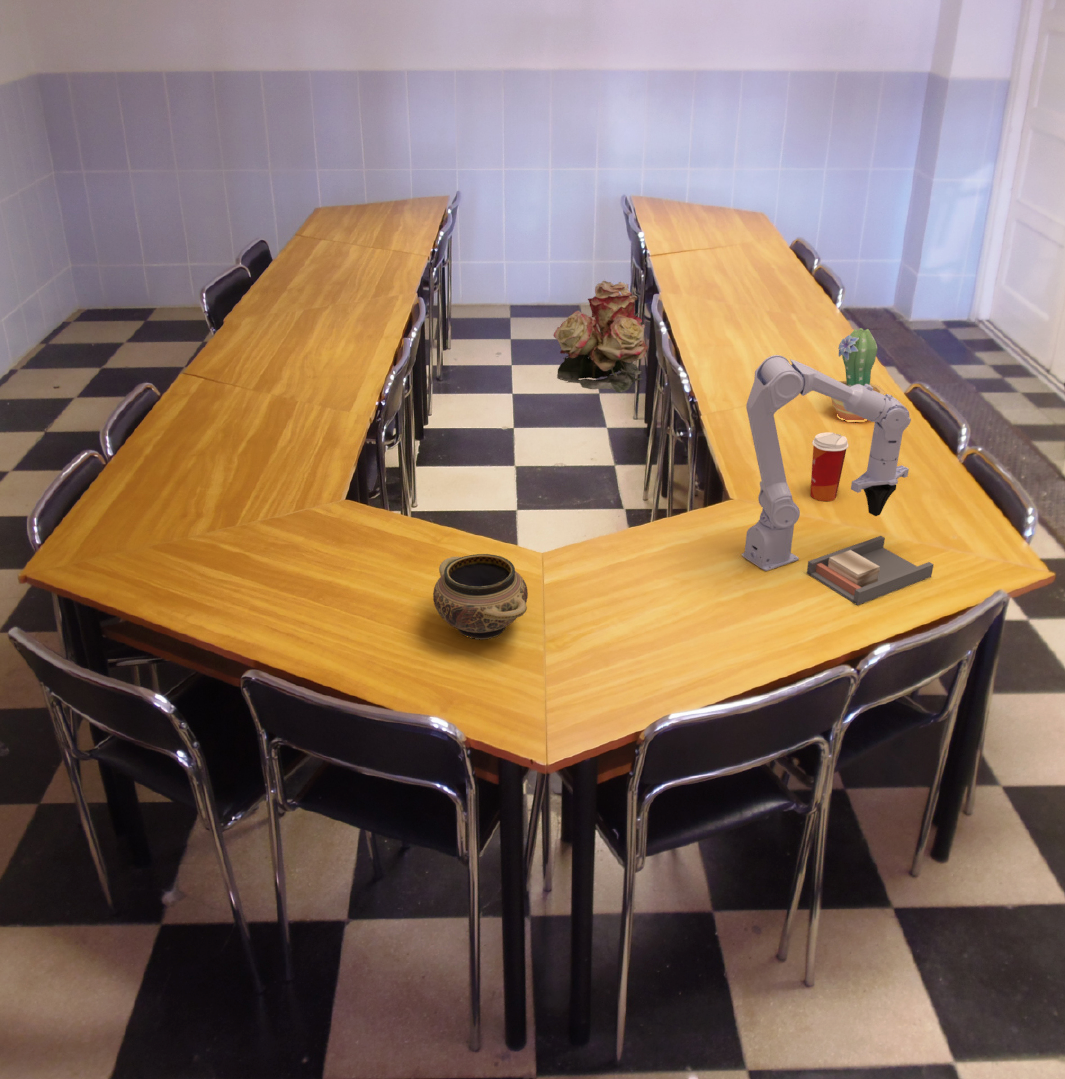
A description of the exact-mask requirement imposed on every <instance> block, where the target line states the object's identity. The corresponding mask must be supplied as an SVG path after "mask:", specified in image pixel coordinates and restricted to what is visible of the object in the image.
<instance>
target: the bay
mask: <svg viewBox="0 0 1065 1079" xmlns="http://www.w3.org/2000/svg"><path fill="white" fill-rule="evenodd" d="M885 539H886V538H885V537H884V536H883V535H879V536H876V537H873V538H869V539H868V540H864V541H861V542H858V543H856V544H853V545H851V546H848V547H844V548H841V549H839V550H836V551H833V552H829V553H828V554H824V555H822V556H819V557H816V558H813V559H811V560H808V562H807V568H806V574H807V575H809V576H810V577H812V578H814V579H815V580H816V581H818V582H820V583H821V584H823V585H824V586H826V588H827V587H828V588H829V589H830V590H832V591H833V592H836V593H837V594H839V595H840V596H842V597H843V598H845V599H846V600H848V601H850V602H852V603H853V604H854V605H856V606H859V605H863V604H865V603H867V602H870V601H872V600H874V599H877V598H880V597H883V596H886V595H889V594H890V593H893V592H896V591H898V590H901V589H904V588H906V587H909V586H911V585H914V584H916V583H919V582H922V581H925V580H927V579H929V578H931V577H932V574H933V569H934V563H932V562H930V561H928V562H925V563H922V564H920V565H915V564H914V563H912V562H910V561H909V560H906V559H904V558H903V557H902V556H899V555H898V554H896V553H895V552H893V551H890V550H889V549H887V548H885V546H884V545H885ZM849 550H852V551H853V552H855V553H857V554H859V555H860V556H862V557H864V558H866V559H867V560H869V561H871V562H873V563H874V564H876V565H878V566H880V568H879V569H880V571H879V574H878V581H877V582H875V583H872V584H869V585H867V586H864V587H860V586H858V585H857V584H855V583H853V582H852V581H850V580H848V579H847V578H845V577H843V576H842V575H840V574H838V573H837V572H835V571H833V570H832V569H830V568H829V567H828V564H829V563H828V562H829V557H832V556H835V555H838V554H841V553H844V552H846V551H849Z"/></svg>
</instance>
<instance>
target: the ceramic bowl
mask: <svg viewBox="0 0 1065 1079" xmlns="http://www.w3.org/2000/svg"><path fill="white" fill-rule="evenodd" d="M438 568H439V570H438V571H439V572H438V573H439V576H440V577H439V578H438V579H437V581H436V583H435V584H434V588H433V591H432V592H433V593H432V597H433V599H432V600H433V604H434V607H435V609H436V611H437V613H438V614H439V616H440V617H441V618H442V619H443V621H444V622H446V623H447V624H449V625H450V626H452V627H454V628H456V629H457V630H458V632H459V633H460V634H461V635H462V634H463V635H465V636H468V637H471V638H470V639H472V638H475V639H474V640H479V639H480V640H488V638H490V639H493V638H492V637H494V638H496V637H498V636H500V635H501V634H502V633H503V632H504V631H506V627H507V626H509V625H511V624H512V623H513V622H514V621H516V619H518V618H520V617H522V616H524V614H525V613H526V612H527V610H528V606H527V601H528V598H529V594H528V593H529V592H528V587H527V583H526V582H525V580H524V578H523V577H522V576H521V574H520V573H518V572H517V571H516V569H515V565H514V564H513V562H512V561H511V560H509V559H507V558H505V557H503V556H501V555H496V554H489V553H477V554H471V555H465V556H462V557H461V556H451V557H447V558H446V559H444V560H443V561H442V562H441V563H440V565H439V567H438ZM463 635H462V636H463ZM465 636H464V637H465ZM468 637H467V638H468Z"/></svg>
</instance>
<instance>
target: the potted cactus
mask: <svg viewBox="0 0 1065 1079" xmlns="http://www.w3.org/2000/svg"><path fill="white" fill-rule="evenodd" d="M878 348H879V347H878V345H877V341H876V339H875V338H874V336H873V334H872V333H871V331H870V329H869V328H867V329H864V328H862V327H860V328H858V329H855V328H854V330H853V331H852V332H851V333H850V334H848V335H847V336H846V337H844V338H842V339H841V341H840V342H839V344H838V357H839V358H840V357H841V358H842V361H843V365H844V368H845V369H844V370H845V380H841V381H839V380H838V381H839V382H841V383H843V384H845V385H847V386H849V387H851V386H853V385H856V384H860V385H863V386H864V385H865V384H868V385H870V386H872V387H873V390H874V391H876V392H878V393H880V394H883V395H886V390H885V389H883V388H882V387H881V386H880V385H877V384H873V383H871V379H872V378H871V376H872V369H873V367H874V364H875V362H876V358H877V353H878V350H879V349H878ZM830 398H831V397H830ZM831 404H832V406H833V408H834V410H835V411H836V415H837V414H838V416H839V417H840V418H843V419H845V420H864V419H865V418H862V417H860V416H858V415H855V414H853V413H851V412H849V411H846V410H845V408H844V405H843V402H842V401H839V400H836V399H834V398H831Z"/></svg>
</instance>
